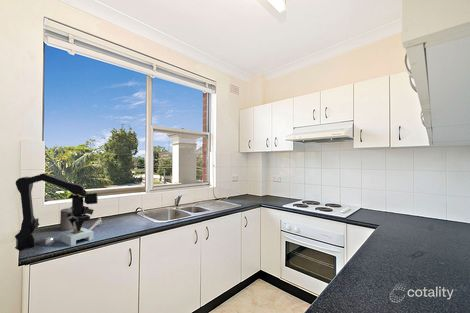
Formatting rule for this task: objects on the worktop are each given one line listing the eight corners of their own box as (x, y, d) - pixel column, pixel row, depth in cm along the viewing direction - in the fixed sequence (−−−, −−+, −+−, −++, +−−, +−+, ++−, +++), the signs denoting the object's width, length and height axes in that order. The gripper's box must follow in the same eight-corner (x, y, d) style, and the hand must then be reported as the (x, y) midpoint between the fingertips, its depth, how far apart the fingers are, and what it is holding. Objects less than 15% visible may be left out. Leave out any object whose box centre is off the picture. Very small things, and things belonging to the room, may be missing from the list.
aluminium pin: (46, 246, 123) (46, 239, 123) (43, 245, 125) (43, 238, 125) (55, 244, 126) (55, 237, 126) (52, 243, 128) (52, 236, 128)
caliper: (99, 225, 164) (100, 216, 164) (101, 225, 164) (101, 216, 164) (84, 234, 144) (84, 225, 144) (86, 234, 144) (86, 225, 144)
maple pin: (75, 235, 130) (75, 222, 131) (71, 234, 133) (72, 221, 133) (82, 234, 134) (82, 221, 134) (79, 232, 136) (79, 220, 136)
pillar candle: (57, 229, 153) (57, 208, 153) (72, 225, 161) (72, 205, 161) (64, 231, 148) (65, 209, 148) (80, 227, 157) (80, 207, 157)
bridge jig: (70, 245, 124) (71, 237, 124) (60, 240, 132) (60, 232, 132) (93, 239, 135) (93, 231, 135) (82, 235, 142) (82, 227, 142)
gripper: (99, 204, 135) (98, 229, 135) (84, 201, 145) (84, 224, 145) (79, 207, 126) (78, 234, 126) (65, 204, 136) (64, 228, 135)
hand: (77, 230), depth 133 cm, fingers closed on maple pin, 4 cm apart
